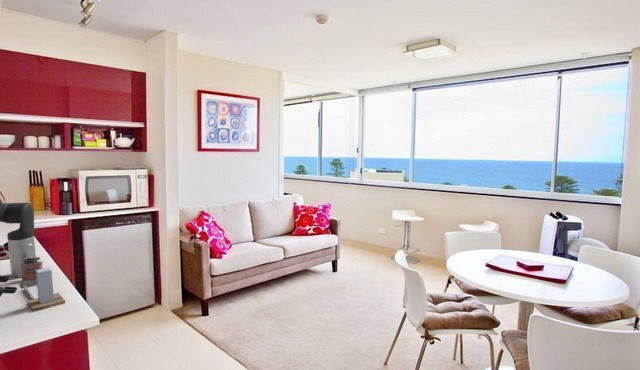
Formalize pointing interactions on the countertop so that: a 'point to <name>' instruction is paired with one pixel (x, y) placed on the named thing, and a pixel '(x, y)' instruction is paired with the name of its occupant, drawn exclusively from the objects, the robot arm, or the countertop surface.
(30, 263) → the lighter
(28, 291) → the channel
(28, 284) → the dark gray flat plate
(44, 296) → the block
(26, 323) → the countertop surface
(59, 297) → the board
